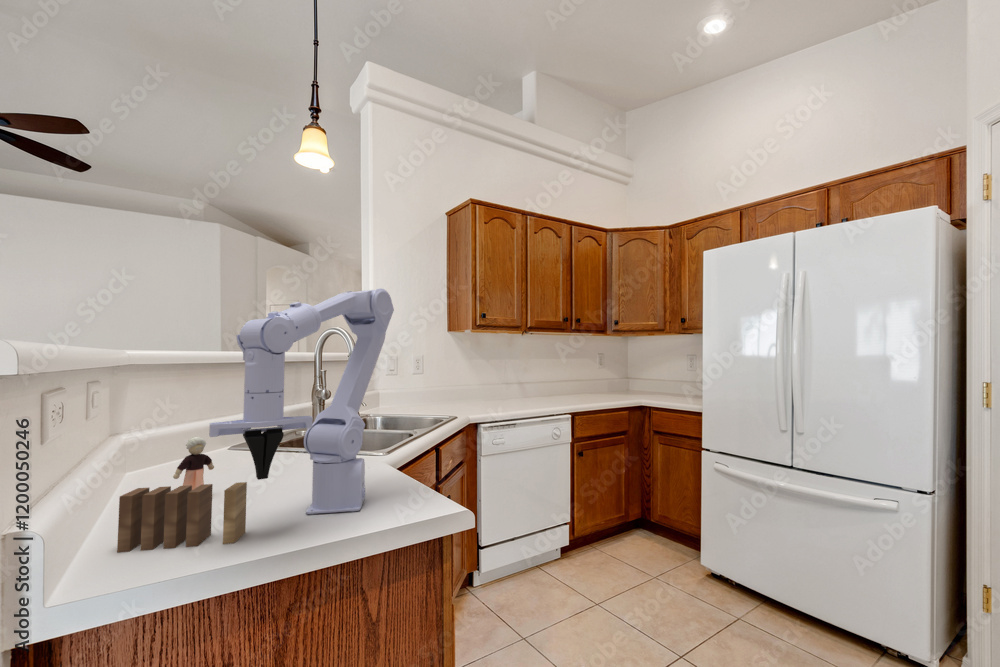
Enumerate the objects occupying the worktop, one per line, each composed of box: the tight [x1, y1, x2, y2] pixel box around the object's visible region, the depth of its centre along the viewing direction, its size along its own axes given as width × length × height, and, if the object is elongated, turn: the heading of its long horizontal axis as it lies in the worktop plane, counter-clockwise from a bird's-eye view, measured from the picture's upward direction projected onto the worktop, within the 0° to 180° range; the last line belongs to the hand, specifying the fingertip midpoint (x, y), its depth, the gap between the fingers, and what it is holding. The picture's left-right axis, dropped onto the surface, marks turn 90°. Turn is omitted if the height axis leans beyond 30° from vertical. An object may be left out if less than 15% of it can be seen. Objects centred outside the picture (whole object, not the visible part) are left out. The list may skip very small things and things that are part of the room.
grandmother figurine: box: [172, 436, 215, 490], centre depth 89 cm, size 8×4×13 cm, turn 169°
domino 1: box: [116, 487, 150, 553], centre depth 67 cm, size 2×4×8 cm, turn 11°
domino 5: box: [222, 481, 248, 545], centre depth 70 cm, size 2×4×8 cm, turn 10°
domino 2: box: [140, 485, 172, 552], centre depth 68 cm, size 2×4×8 cm, turn 11°
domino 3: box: [162, 485, 192, 550], centre depth 68 cm, size 2×4×8 cm, turn 11°
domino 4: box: [185, 483, 213, 548], centre depth 69 cm, size 2×4×8 cm, turn 10°
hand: (262, 477), depth 71 cm, fingers closed
